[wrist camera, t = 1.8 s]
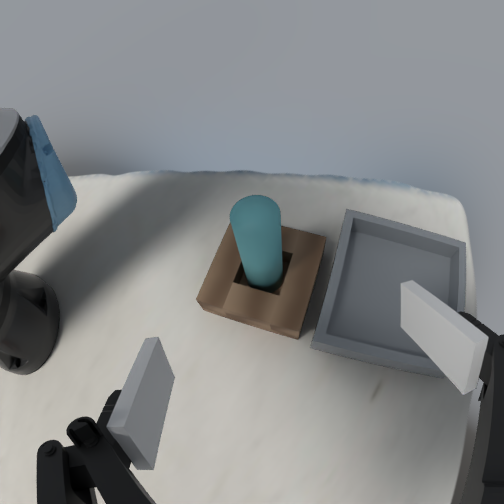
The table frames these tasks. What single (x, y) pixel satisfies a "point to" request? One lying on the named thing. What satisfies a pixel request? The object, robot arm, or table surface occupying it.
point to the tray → (385, 290)
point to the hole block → (260, 302)
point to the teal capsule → (259, 241)
